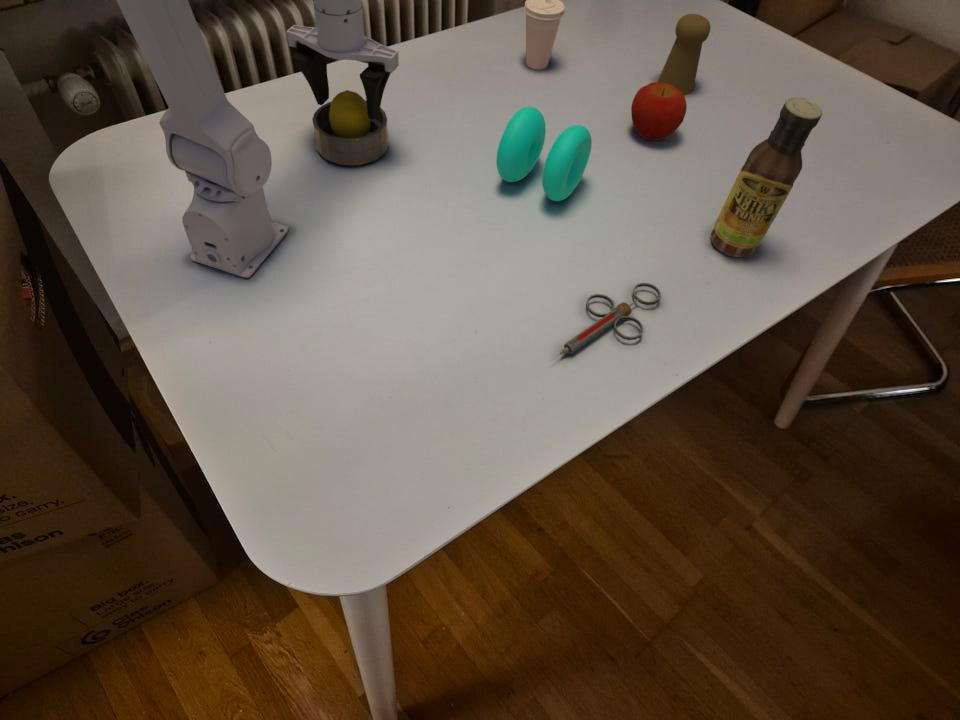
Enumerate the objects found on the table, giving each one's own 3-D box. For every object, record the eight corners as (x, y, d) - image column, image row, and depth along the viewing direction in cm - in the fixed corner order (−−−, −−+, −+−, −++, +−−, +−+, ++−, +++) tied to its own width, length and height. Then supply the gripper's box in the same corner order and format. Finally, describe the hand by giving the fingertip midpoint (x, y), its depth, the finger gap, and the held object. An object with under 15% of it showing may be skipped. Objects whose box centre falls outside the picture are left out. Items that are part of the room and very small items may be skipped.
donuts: (524, 154, 96) (533, 90, 88) (586, 179, 94) (601, 115, 86) (489, 190, 91) (495, 125, 83) (554, 218, 88) (567, 154, 80)
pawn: (650, 79, 111) (669, 11, 103) (679, 72, 113) (700, 6, 104) (671, 97, 108) (692, 30, 99) (701, 91, 110) (724, 24, 101)
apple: (686, 144, 100) (703, 96, 94) (641, 153, 98) (655, 105, 92) (659, 116, 105) (674, 69, 98) (616, 124, 102) (628, 76, 96)
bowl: (369, 175, 91) (366, 147, 88) (304, 157, 93) (299, 128, 89) (399, 137, 97) (398, 109, 93) (337, 120, 99) (334, 91, 95)
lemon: (375, 134, 96) (371, 82, 90) (367, 157, 93) (363, 104, 87) (337, 130, 96) (331, 77, 90) (328, 152, 93) (321, 100, 87)
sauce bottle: (703, 250, 86) (765, 111, 70) (714, 222, 90) (775, 83, 74) (753, 267, 85) (827, 128, 69) (761, 238, 88) (834, 99, 72)
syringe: (524, 344, 74) (526, 335, 73) (629, 274, 82) (633, 264, 81) (573, 388, 71) (576, 379, 70) (678, 311, 79) (682, 301, 78)
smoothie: (562, 62, 113) (577, -26, 102) (544, 78, 109) (557, -12, 98) (529, 50, 115) (540, -38, 104) (510, 65, 111) (520, -24, 100)
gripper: (407, 4, 81) (409, 106, 91) (300, -22, 83) (315, 81, 94) (382, 29, 76) (387, 133, 87) (270, 1, 79) (289, 106, 89)
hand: (348, 108), depth 90 cm, fingers open, 7 cm apart
